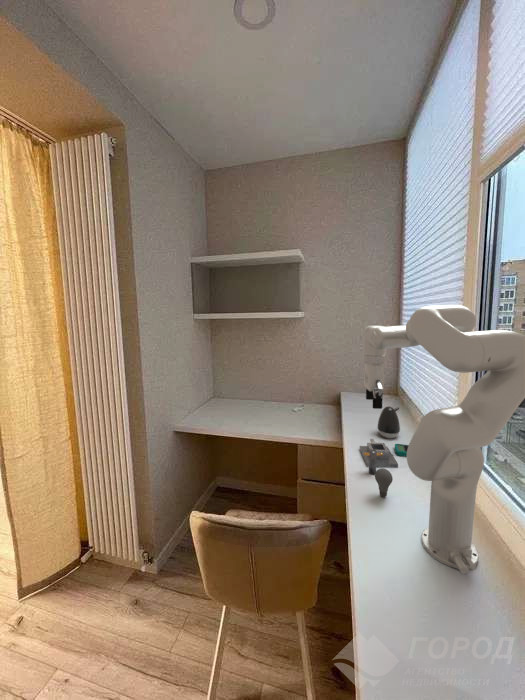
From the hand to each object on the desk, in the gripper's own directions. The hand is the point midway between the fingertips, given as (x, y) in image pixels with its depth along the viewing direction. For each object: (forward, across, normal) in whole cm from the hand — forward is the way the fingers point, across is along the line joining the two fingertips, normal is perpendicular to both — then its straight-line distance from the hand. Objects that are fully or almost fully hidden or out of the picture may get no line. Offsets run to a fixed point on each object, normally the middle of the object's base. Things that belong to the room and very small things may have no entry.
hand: (373, 403), depth 105 cm
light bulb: (+28, +14, 0) cm, 32 cm away
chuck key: (+28, 0, 0) cm, 28 cm away
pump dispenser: (+28, -32, +16) cm, 46 cm away
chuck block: (+28, -12, +5) cm, 31 cm away
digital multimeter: (+29, -15, +21) cm, 39 cm away
